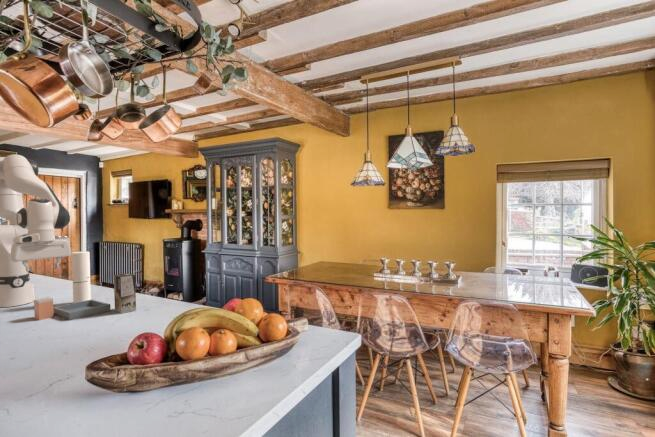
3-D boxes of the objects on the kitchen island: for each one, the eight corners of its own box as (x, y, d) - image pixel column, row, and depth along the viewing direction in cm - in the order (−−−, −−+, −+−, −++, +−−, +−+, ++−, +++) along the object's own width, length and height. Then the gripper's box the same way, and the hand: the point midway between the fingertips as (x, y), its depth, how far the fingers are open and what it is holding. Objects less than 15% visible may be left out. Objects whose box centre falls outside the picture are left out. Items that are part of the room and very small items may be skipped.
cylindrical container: (94, 301, 179) (93, 251, 178) (83, 305, 172) (81, 253, 171) (81, 301, 180) (79, 251, 179) (69, 304, 172) (68, 253, 172)
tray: (52, 314, 157) (52, 307, 157) (92, 305, 170) (92, 299, 170) (69, 320, 148) (69, 313, 148) (110, 310, 161) (110, 304, 161)
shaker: (34, 318, 151) (34, 299, 151) (48, 315, 155) (48, 297, 155) (39, 320, 148) (38, 301, 148) (53, 317, 153) (53, 298, 152)
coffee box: (136, 310, 161) (135, 274, 161) (121, 313, 156) (120, 277, 156) (129, 306, 167) (128, 272, 167) (114, 309, 163) (113, 274, 162)
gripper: (66, 235, 161) (67, 265, 162) (8, 238, 144) (9, 272, 145) (73, 235, 158) (74, 266, 158) (13, 239, 141) (15, 274, 141)
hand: (42, 269), depth 151 cm, fingers open, 8 cm apart
